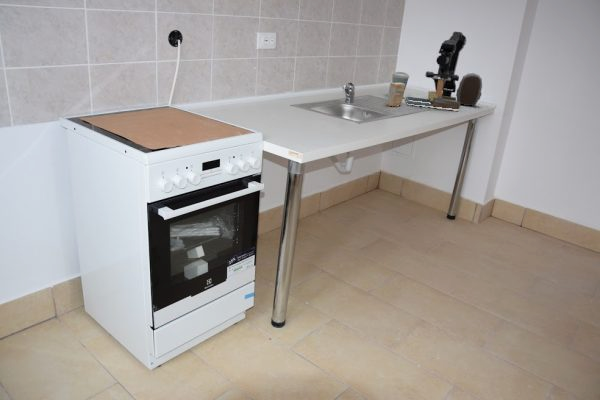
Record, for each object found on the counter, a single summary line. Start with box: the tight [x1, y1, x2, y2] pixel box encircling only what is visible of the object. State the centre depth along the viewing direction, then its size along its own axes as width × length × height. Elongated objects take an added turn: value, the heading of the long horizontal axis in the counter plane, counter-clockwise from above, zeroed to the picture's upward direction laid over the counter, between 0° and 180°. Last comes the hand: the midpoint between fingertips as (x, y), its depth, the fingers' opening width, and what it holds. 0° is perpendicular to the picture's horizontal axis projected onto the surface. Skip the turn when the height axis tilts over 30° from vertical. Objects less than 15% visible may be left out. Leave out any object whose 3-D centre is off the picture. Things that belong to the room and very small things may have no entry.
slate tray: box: [404, 96, 434, 106], centre depth 298 cm, size 14×16×2 cm
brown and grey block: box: [435, 78, 443, 100], centre depth 294 cm, size 10×3×12 cm, turn 175°
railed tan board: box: [430, 96, 461, 110], centre depth 297 cm, size 15×15×6 cm
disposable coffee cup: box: [391, 71, 410, 92], centre depth 310 cm, size 11×11×15 cm
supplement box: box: [386, 82, 406, 108], centre depth 285 cm, size 8×5×13 cm, turn 129°
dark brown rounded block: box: [455, 72, 483, 107], centre depth 308 cm, size 15×8×20 cm, turn 76°
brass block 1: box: [427, 90, 436, 99], centre depth 298 cm, size 4×4×4 cm
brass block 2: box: [429, 93, 438, 101], centre depth 293 cm, size 4×4×4 cm
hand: (438, 90), depth 294 cm, fingers closed on brown and grey block, 3 cm apart
